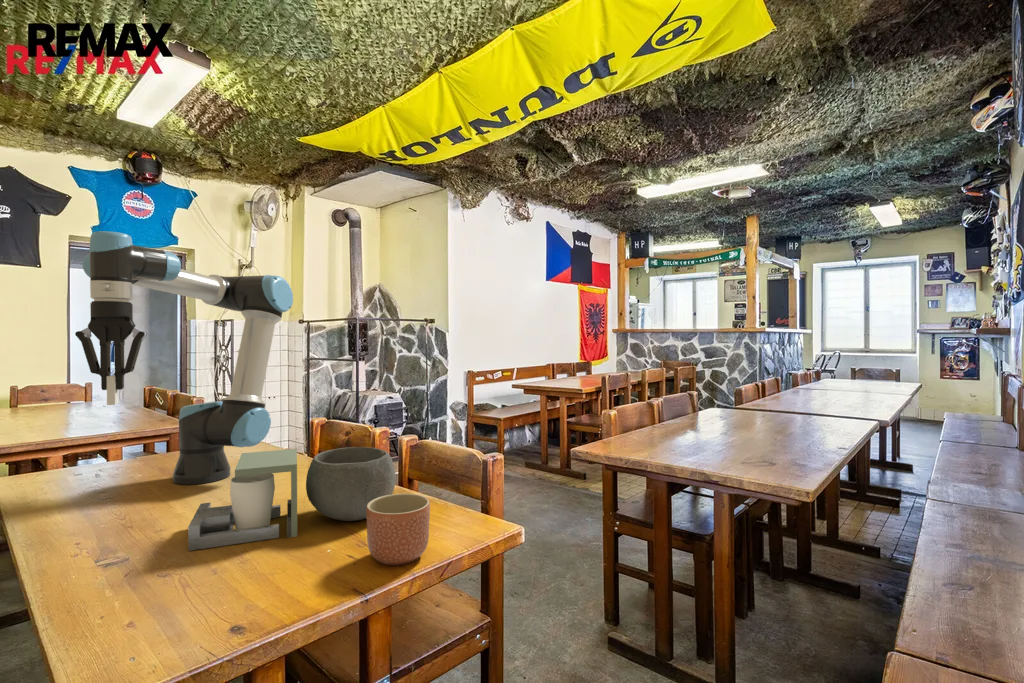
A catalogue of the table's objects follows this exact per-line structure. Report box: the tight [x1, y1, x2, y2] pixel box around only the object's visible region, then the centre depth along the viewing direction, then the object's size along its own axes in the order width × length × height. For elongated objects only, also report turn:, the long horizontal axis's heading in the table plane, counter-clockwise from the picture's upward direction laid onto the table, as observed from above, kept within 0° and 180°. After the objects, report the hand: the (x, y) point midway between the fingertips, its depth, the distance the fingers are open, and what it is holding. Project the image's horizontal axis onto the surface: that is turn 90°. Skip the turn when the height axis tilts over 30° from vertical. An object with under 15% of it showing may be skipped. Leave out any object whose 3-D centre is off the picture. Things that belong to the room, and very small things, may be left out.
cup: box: [229, 473, 276, 530], centre depth 114 cm, size 9×9×12 cm
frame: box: [187, 502, 282, 551], centre depth 113 cm, size 15×17×5 cm
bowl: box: [305, 446, 397, 522], centre depth 124 cm, size 21×21×15 cm
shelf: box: [234, 448, 298, 539], centre depth 115 cm, size 16×12×16 cm
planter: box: [365, 493, 431, 566], centre depth 100 cm, size 12×12×11 cm
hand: (112, 404), depth 115 cm, fingers closed
